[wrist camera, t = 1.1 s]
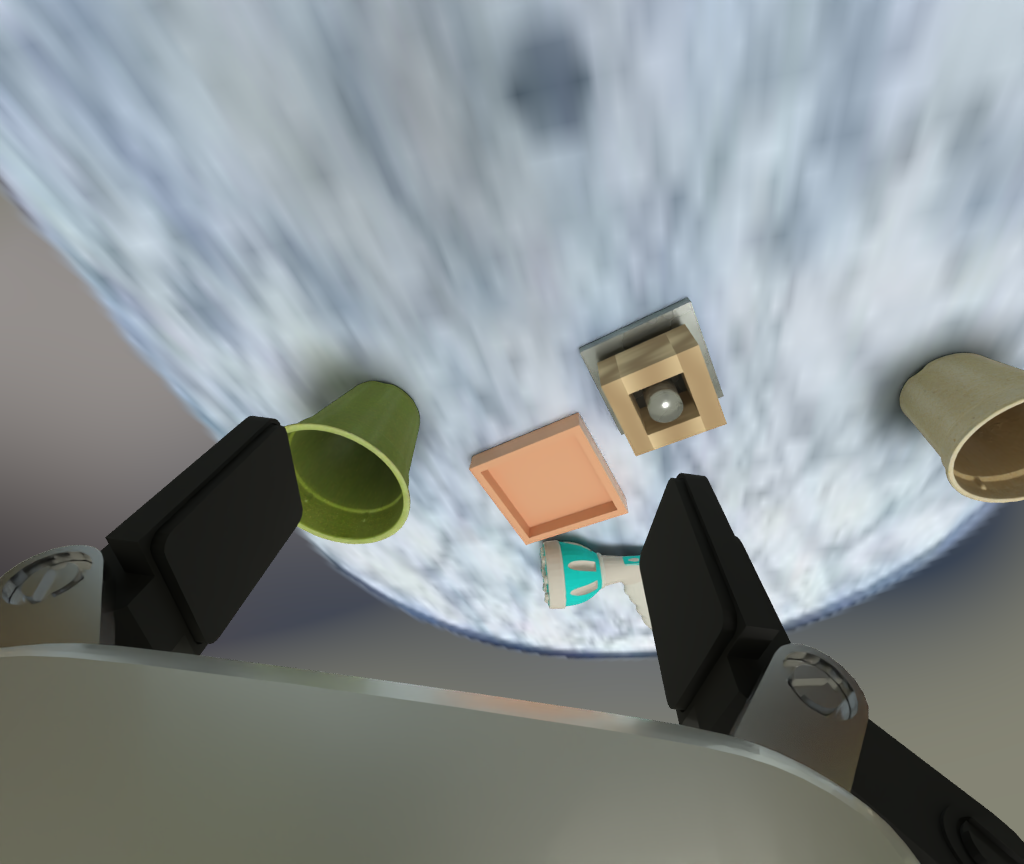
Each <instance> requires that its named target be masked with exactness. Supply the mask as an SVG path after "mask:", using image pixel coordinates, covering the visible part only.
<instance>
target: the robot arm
mask: <svg viewBox="0 0 1024 864" xmlns="http://www.w3.org/2000/svg"><path fill="white" fill-rule="evenodd" d="M302 513H303V507H302V502H301V498H300V493H299V488H298V483H297V478H296V473H295V469H294V464H293V459H292V454H291V449H290V445H289V440H288V435H287V431H286V428H285V427H284V426H281V425H280V423H279V422H278V420H276V419H272V418H265V417H257V416H249V417H248V418H246V419H245V420H244V421H242V422H241V423H240V424H239V425H238V426H236V427H235V428H234V429H233V430H232V431H231V432H229V433H228V434H227V435H226V436H225V437H223V438H222V439H221V440H220V441H219V442H218V443H216V444H215V445H214V446H213V447H212V448H211V449H209V450H208V451H207V452H206V453H205V454H203V455H202V456H201V457H200V458H199V459H198V460H196V461H195V462H194V463H193V464H192V465H190V466H189V467H188V468H187V469H186V470H185V471H183V472H182V473H181V474H180V475H179V476H177V477H176V478H175V479H174V480H173V481H172V482H170V483H169V484H168V485H167V486H166V487H164V488H163V489H162V490H161V491H160V492H159V493H157V494H156V495H155V496H154V497H153V498H151V499H150V500H149V501H148V502H147V503H146V504H144V505H143V506H142V507H141V508H140V509H138V510H137V511H136V512H135V513H134V514H132V515H131V516H130V517H129V518H128V519H127V520H125V521H124V522H123V523H122V524H121V525H119V526H118V527H117V528H116V529H115V530H114V531H112V532H111V533H110V534H109V535H108V536H107V537H106V539H107V541H108V543H109V544H108V545H107V546H106V547H105V548H103V549H102V550H101V551H99V550H97V549H96V548H95V547H90V546H85V545H73V546H72V545H70V546H65V547H60V548H55V549H52V550H49V551H46V552H43V553H41V554H38V555H35V556H33V557H31V558H29V559H27V560H25V561H24V562H21V563H20V564H18V565H17V566H15V567H14V568H12V569H11V570H9V571H8V572H6V573H5V574H4V575H3V576H2V577H1V578H0V864H1024V842H1023V841H1022V840H1021V839H1020V838H1019V837H1018V836H1017V834H1016V833H1015V832H1014V831H1013V830H1012V829H1010V828H1009V827H1008V826H1007V825H1006V824H1005V823H1003V822H1002V821H1001V820H1000V819H999V818H998V817H996V816H995V815H994V814H993V813H992V812H990V811H989V810H988V809H986V808H985V807H984V806H982V805H981V804H980V803H978V802H977V801H976V800H974V799H973V798H972V797H971V796H969V795H968V794H966V793H965V792H964V791H963V790H961V789H960V788H959V787H957V786H956V785H955V784H953V783H952V782H951V781H950V780H948V779H947V778H946V777H944V776H943V775H941V774H940V773H939V772H938V771H936V770H935V769H934V768H932V767H931V766H930V765H929V764H927V763H926V762H925V761H923V760H922V759H921V758H919V757H918V756H917V755H915V754H914V753H912V752H911V751H910V750H909V749H907V748H906V747H905V746H904V745H902V744H901V743H899V742H898V741H897V740H896V739H894V738H893V737H892V736H890V735H889V734H888V733H886V732H885V731H884V730H883V729H881V728H880V727H878V726H877V725H876V724H875V723H873V722H872V721H871V720H869V707H868V703H867V701H866V698H865V695H864V693H863V691H862V690H861V688H860V687H859V685H858V683H857V682H856V680H855V679H854V678H853V677H852V676H851V675H850V674H849V673H848V671H846V670H845V668H844V667H843V666H841V665H840V664H839V663H837V662H836V661H835V660H834V659H832V658H831V657H830V656H828V655H826V654H825V653H823V652H821V651H819V650H817V649H815V648H812V647H809V646H806V645H803V644H792V643H791V642H790V641H789V638H788V636H787V634H786V632H785V630H784V628H783V626H782V624H781V622H780V620H779V618H778V616H777V614H776V612H775V610H774V608H773V605H772V603H771V601H770V599H769V597H768V595H767V593H766V591H765V589H764V587H763V585H762V583H761V581H760V579H759V577H758V575H757V573H756V571H755V569H754V566H753V564H752V562H751V560H750V558H749V556H748V554H747V552H746V550H745V548H744V546H743V544H742V542H741V541H740V539H739V538H738V537H736V536H735V535H734V533H733V531H732V529H731V527H730V525H729V523H728V521H727V518H726V516H725V514H724V512H723V510H722V508H721V506H720V504H719V502H718V500H717V497H716V495H715V493H714V491H713V489H712V487H711V485H710V483H709V481H708V479H707V478H706V477H705V476H700V475H693V474H685V473H680V474H679V475H678V476H677V478H670V480H669V481H668V484H667V486H666V489H665V491H664V494H663V497H662V499H661V502H660V504H659V507H658V510H657V512H656V515H655V518H654V520H653V523H652V525H651V528H650V531H649V533H648V536H647V539H646V541H645V544H644V546H643V549H642V552H641V555H640V560H639V568H640V573H641V578H642V583H643V588H644V593H645V598H646V602H647V607H648V612H649V617H650V622H651V626H652V631H653V636H654V641H655V646H656V651H657V655H658V660H659V665H660V670H661V675H662V680H663V684H664V689H665V694H666V699H667V702H668V705H669V707H670V708H671V709H676V711H677V716H678V721H679V725H678V724H672V723H665V722H660V721H654V720H648V719H641V718H635V717H628V716H623V715H617V714H611V713H605V712H599V711H592V710H585V709H578V708H571V707H565V706H558V705H551V704H544V703H537V702H530V701H523V700H517V699H510V698H502V697H496V696H489V695H482V694H475V693H468V692H461V691H455V690H447V689H440V688H432V687H426V686H419V685H412V684H405V683H398V682H391V681H384V680H377V679H370V678H362V677H355V676H348V675H341V674H334V673H327V672H319V671H312V670H305V669H297V668H289V667H283V666H275V665H268V664H260V663H253V662H246V661H238V660H231V659H224V658H216V657H209V656H201V655H200V654H201V653H202V651H203V650H204V649H205V647H206V646H207V644H211V643H214V642H215V641H216V640H217V639H218V638H219V637H220V635H221V634H222V633H223V631H224V630H225V628H226V627H227V625H228V624H229V623H230V621H231V620H232V618H233V617H234V615H235V614H236V613H237V611H238V610H239V608H240V607H241V605H242V604H243V602H244V601H245V600H246V598H247V597H248V595H249V594H250V592H251V591H252V589H253V588H254V587H255V585H256V584H257V582H258V581H259V580H260V578H261V577H262V575H263V574H264V572H265V571H266V570H267V568H268V567H269V565H270V564H271V562H272V561H273V560H274V558H275V557H276V555H277V553H278V552H279V550H280V549H281V548H282V547H283V545H284V544H285V542H286V541H287V540H288V538H289V537H290V535H291V534H292V532H293V531H294V530H295V528H296V527H297V525H298V524H299V522H300V520H301V518H302Z"/></svg>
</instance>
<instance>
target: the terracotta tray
mask: <svg viewBox="0 0 1024 864" xmlns="http://www.w3.org/2000/svg"><path fill="white" fill-rule="evenodd" d="M469 470H470V471H471V472H472V474H473V475H474V476H475V478H476V479H477V480H478V482H479V483H480V484H481V486H482V487H483V488H484V490H485V491H486V492H487V494H488V495H489V496H490V498H491V499H492V500H493V502H494V503H495V504H496V506H497V507H498V508H499V510H500V511H501V512H502V514H503V515H504V516H505V517H506V519H507V520H508V521H509V523H510V524H511V525H512V527H513V528H514V529H515V531H516V532H517V533H518V535H519V536H520V537H521V539H522V540H523V541H524V543H525V544H526V545H527V544H530V543H533V542H537V541H540V540H543V539H546V538H549V537H553V536H556V535H559V534H562V533H565V532H569V531H572V530H575V529H578V528H581V527H585V526H588V525H591V524H594V523H597V522H601V521H604V520H607V519H610V518H613V517H617V516H620V515H623V514H626V513H628V508H627V503H626V498H625V496H624V494H623V493H622V491H621V489H620V487H619V485H618V483H617V482H616V480H615V478H614V476H613V474H612V473H611V471H610V469H609V467H608V465H607V463H606V462H605V460H604V458H603V456H602V454H601V453H600V451H599V449H598V447H597V445H596V443H595V442H594V440H593V438H592V436H591V434H590V432H589V431H588V429H587V427H586V425H585V423H584V422H583V420H582V418H581V416H580V414H579V413H576V414H574V415H571V416H569V417H566V418H564V419H562V420H559V421H557V422H554V423H552V424H549V425H547V426H545V427H542V428H540V429H537V430H535V431H532V432H530V433H528V434H525V435H523V436H520V437H518V438H515V439H513V440H511V441H508V442H506V443H503V444H501V445H498V446H496V447H494V448H491V449H489V450H486V451H484V452H481V453H479V454H477V455H474V456H473V457H472V460H471V464H470V468H469Z"/></svg>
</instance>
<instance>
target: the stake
mask: <svg viewBox="0 0 1024 864" xmlns="http://www.w3.org/2000/svg"><path fill="white" fill-rule="evenodd" d="M683 324H685V325H686V327H687V328H688V330H689V331H690V333H691V334H692V335H693V337H694V338H695V340H696V341H697V343H698V344H699V347H700V350H701V353H702V355H703V358H704V361H705V364H706V367H707V369H708V372H709V375H710V378H711V381H712V384H713V386H714V389H715V392H716V395H717V398H720V397H723V393H722V390H721V387H720V384H719V382H718V379H717V376H716V373H715V370H714V367H713V364H712V361H711V358H710V356H709V353H708V350H707V347H706V344H705V341H704V338H703V335H702V332H701V330H700V327H699V324H698V321H697V318H696V315H695V312H694V309H693V307H692V304H691V301H690V300H689V299H688V298H686V299H684V300H681V301H679V302H677V303H675V304H673V305H671V306H669V307H666V308H664V309H662V310H660V311H658V312H656V313H654V314H651V315H649V316H647V317H645V318H643V319H641V320H639V321H636V322H634V323H632V324H630V325H628V326H626V327H624V328H621V329H619V330H617V331H615V332H613V333H611V334H609V335H606V336H604V337H602V338H600V339H598V340H596V341H594V342H591V343H589V344H587V345H585V346H583V347H581V348H580V354H581V356H582V358H583V360H584V362H585V364H586V366H587V368H588V370H589V372H590V374H591V376H592V378H593V380H594V382H595V384H596V386H597V388H598V389H599V391H600V393H601V395H602V397H603V399H604V401H605V403H606V405H607V407H608V409H609V411H610V413H611V415H612V417H613V419H614V421H615V423H616V425H617V427H618V429H619V431H620V433H621V435H622V434H625V433H624V431H623V429H622V427H621V425H620V423H619V421H618V419H617V417H616V415H615V413H614V411H613V409H612V408H611V406H610V404H609V402H608V400H607V398H606V396H605V394H604V392H603V390H602V388H601V384H600V377H599V371H598V365H597V363H598V362H601V361H603V360H605V359H607V358H609V357H612V356H614V355H616V354H618V353H621V352H623V351H625V350H627V349H630V348H632V347H634V346H636V345H639V344H641V343H643V342H645V341H648V340H650V339H652V338H654V337H656V336H659V335H661V334H663V333H665V332H668V331H670V330H672V329H674V328H677V327H679V326H681V325H683ZM686 390H687V388H686V385H685V383H684V380H683V378H682V375H681V373H680V374H678V375H675V376H673V377H670V378H668V379H665V380H663V381H661V382H658V383H656V384H653V385H651V386H648V387H646V388H643V389H641V390H639V391H636V392H634V393H633V395H634V397H635V399H636V402H637V404H638V406H639V408H640V409H641V408H643V407H646V406H647V408H648V411H649V414H650V416H651V418H652V419H653V420H655V421H657V422H660V423H667V422H671V421H673V420H675V419H677V418H678V417H679V416H680V415H681V413H682V411H683V402H682V400H681V398H680V396H679V393H681V392H684V391H686Z"/></svg>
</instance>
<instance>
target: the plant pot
mask: <svg viewBox="0 0 1024 864" xmlns="http://www.w3.org/2000/svg"><path fill="white" fill-rule="evenodd" d="M419 425H420V416H419V412H418V409H417V407H416V405H415V403H414V402H413V400H412V399H411V398H410V397H409V396H408V395H407V394H406V393H405V392H404V391H403V390H401V389H400V388H398V387H396V386H394V385H391V384H385V383H381V382H377V381H368V382H364V383H361V384H359V385H357V386H356V387H354V388H353V389H351V390H350V391H349V392H347V393H346V394H344V395H343V396H341V397H340V398H338V399H337V400H335V401H334V402H333V403H331V404H330V405H328V406H327V407H325V408H324V409H322V410H321V411H319V412H318V413H317V414H315V415H314V416H312V417H310V418H307V419H305V420H302V421H301V422H299V423H296V424H291V425H287V426H284V427H285V428H286V431H287V435H288V440H289V445H290V449H291V454H292V459H293V464H294V469H295V473H296V478H297V483H298V488H299V493H300V498H301V502H302V507H303V513H302V518H301V520H300V522H299V524H298V525H297V526H298V527H299V528H301V529H303V530H305V531H307V532H309V533H311V534H313V535H316V536H318V537H321V538H324V539H327V540H331V541H335V542H340V543H347V544H365V543H373V542H377V541H380V540H383V539H386V538H387V537H390V536H391V535H393V534H395V533H396V532H397V531H398V530H399V529H400V528H401V527H402V526H403V525H404V523H405V521H406V520H407V517H408V514H409V510H410V494H409V490H408V485H409V470H410V466H411V461H412V457H413V452H414V448H415V444H416V439H417V435H418V431H419Z"/></svg>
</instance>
